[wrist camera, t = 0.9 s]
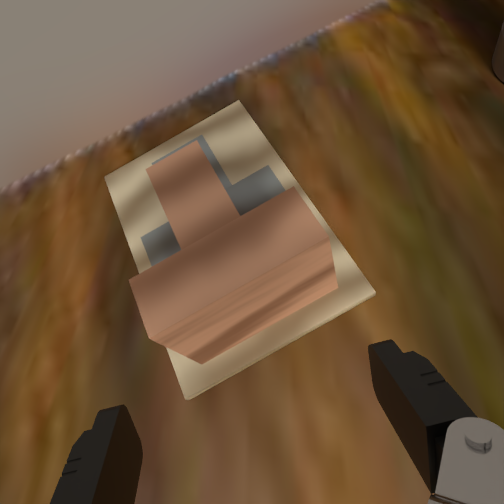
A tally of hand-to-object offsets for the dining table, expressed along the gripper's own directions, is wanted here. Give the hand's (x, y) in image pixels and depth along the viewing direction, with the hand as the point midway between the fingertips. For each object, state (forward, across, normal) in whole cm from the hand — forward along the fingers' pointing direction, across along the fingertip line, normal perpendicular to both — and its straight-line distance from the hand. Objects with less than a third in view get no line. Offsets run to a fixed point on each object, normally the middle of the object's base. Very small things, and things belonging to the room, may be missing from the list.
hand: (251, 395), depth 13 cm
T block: (+26, 0, +6) cm, 27 cm away
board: (+31, +1, +3) cm, 31 cm away
